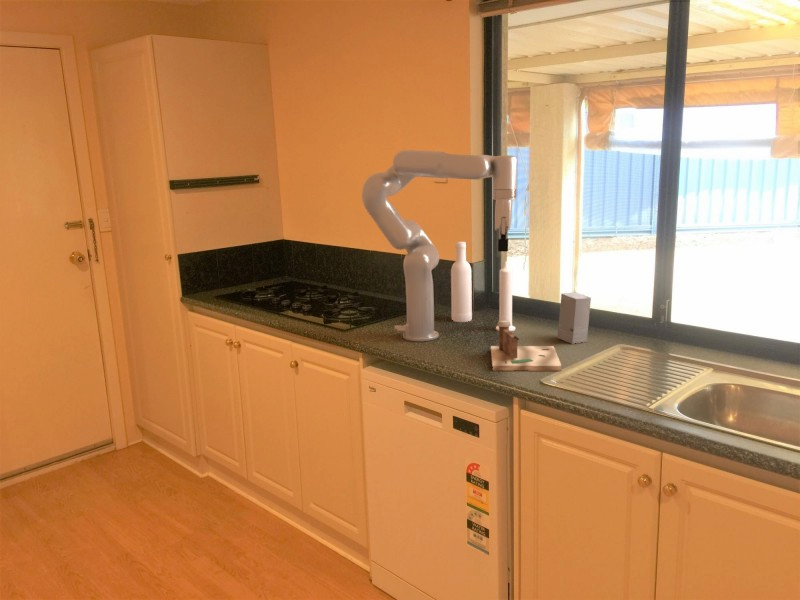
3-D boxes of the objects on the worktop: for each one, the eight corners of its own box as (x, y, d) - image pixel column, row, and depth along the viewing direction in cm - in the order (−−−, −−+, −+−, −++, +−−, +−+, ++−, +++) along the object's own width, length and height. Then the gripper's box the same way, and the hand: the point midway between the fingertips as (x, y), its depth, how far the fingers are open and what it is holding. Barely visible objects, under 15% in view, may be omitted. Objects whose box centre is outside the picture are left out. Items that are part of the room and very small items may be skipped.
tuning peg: (496, 347, 216) (496, 321, 214) (508, 346, 217) (508, 320, 215) (511, 362, 201) (511, 334, 199) (524, 361, 201) (524, 333, 199)
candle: (515, 332, 240) (515, 262, 234) (495, 331, 241) (495, 262, 236) (515, 327, 246) (516, 259, 241) (496, 326, 248) (496, 259, 242)
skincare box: (557, 338, 230) (558, 293, 227) (574, 335, 233) (575, 291, 230) (572, 344, 223) (573, 298, 219) (590, 341, 225) (591, 295, 222)
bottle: (476, 320, 258) (476, 242, 251) (460, 323, 254) (459, 244, 247) (463, 316, 264) (462, 240, 258) (447, 319, 260) (446, 242, 254)
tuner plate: (492, 370, 200) (492, 364, 199) (490, 350, 219) (490, 345, 219) (561, 370, 198) (561, 365, 197) (553, 350, 217) (553, 345, 217)
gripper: (493, 192, 225) (492, 247, 229) (492, 196, 211) (490, 254, 215) (516, 193, 224) (514, 247, 228) (516, 196, 209) (514, 254, 214)
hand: (503, 250), depth 221 cm, fingers closed
